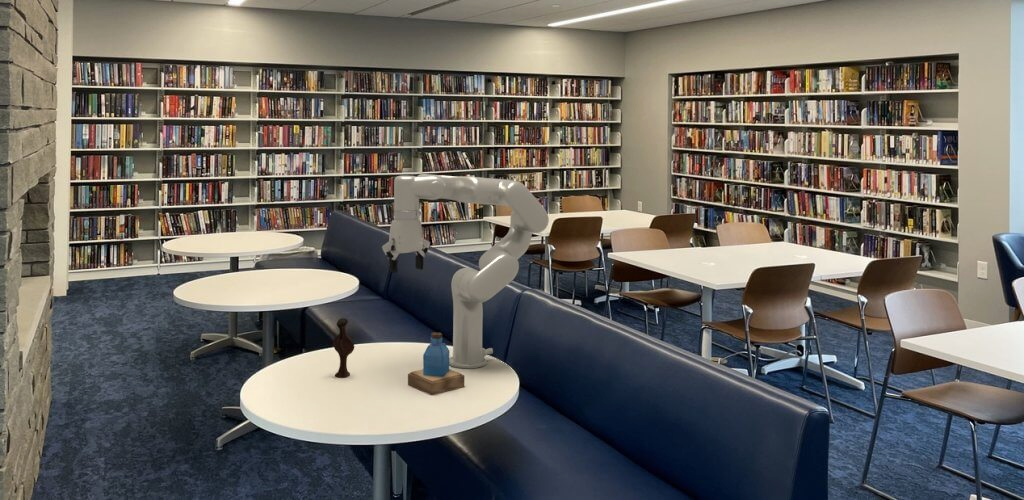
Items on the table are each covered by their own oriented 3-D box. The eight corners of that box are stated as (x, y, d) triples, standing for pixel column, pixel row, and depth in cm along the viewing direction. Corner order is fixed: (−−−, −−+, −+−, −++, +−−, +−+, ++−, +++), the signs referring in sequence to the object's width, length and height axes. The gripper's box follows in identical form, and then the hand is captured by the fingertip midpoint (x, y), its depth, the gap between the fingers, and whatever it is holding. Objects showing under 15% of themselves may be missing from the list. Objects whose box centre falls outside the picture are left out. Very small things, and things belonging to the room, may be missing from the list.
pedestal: (439, 377, 244) (439, 364, 244) (464, 386, 236) (464, 373, 235) (407, 385, 236) (407, 372, 236) (432, 395, 228) (432, 381, 227)
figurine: (358, 374, 245) (357, 318, 242) (349, 379, 240) (349, 322, 238) (338, 372, 248) (337, 316, 245) (329, 376, 243) (328, 319, 240)
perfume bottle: (443, 376, 232) (443, 337, 230) (423, 375, 233) (423, 335, 231) (449, 370, 238) (449, 331, 236) (429, 369, 239) (429, 330, 237)
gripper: (422, 213, 252) (422, 266, 254) (376, 216, 240) (376, 271, 242) (436, 215, 246) (436, 269, 249) (389, 218, 235) (390, 275, 237)
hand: (406, 270), depth 246 cm, fingers open, 9 cm apart
